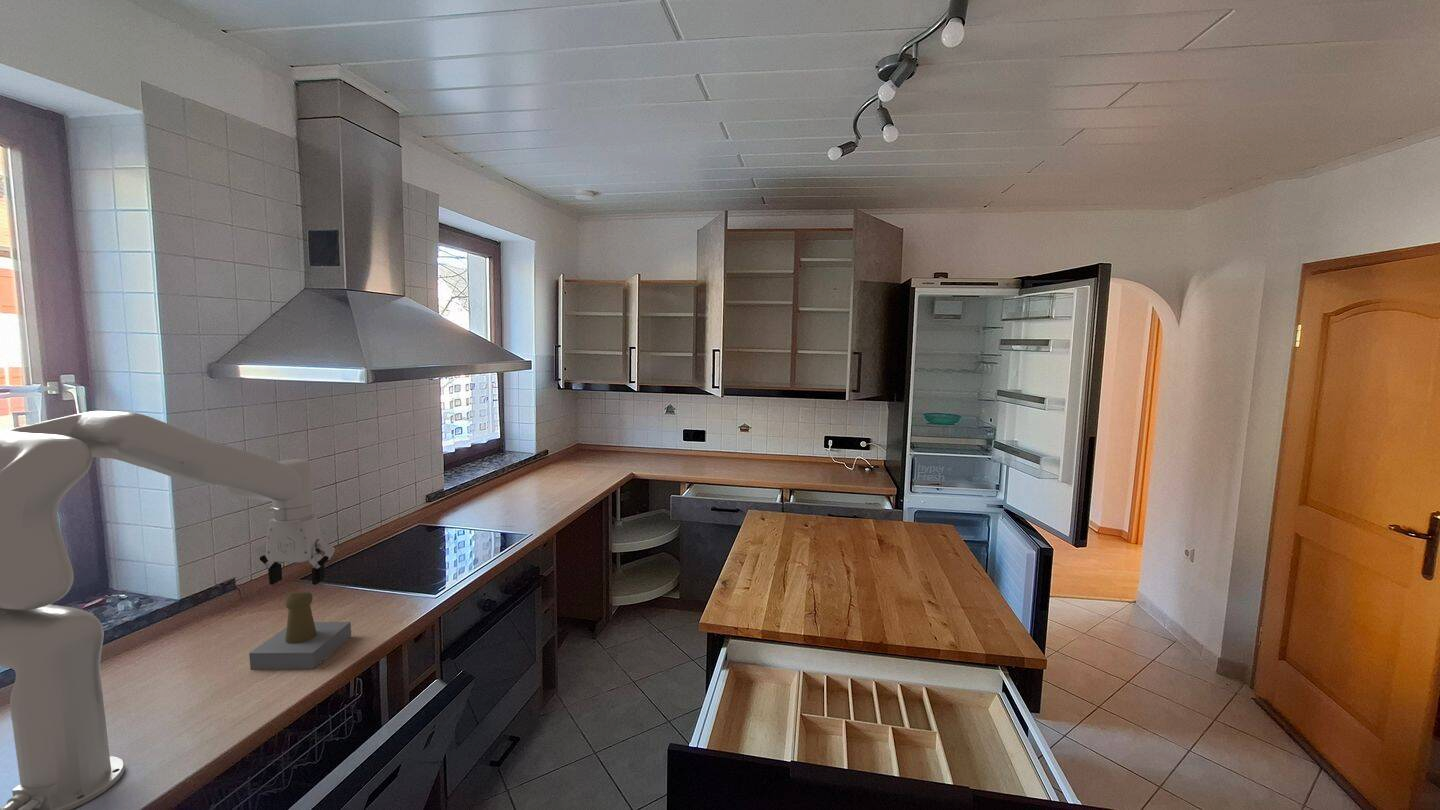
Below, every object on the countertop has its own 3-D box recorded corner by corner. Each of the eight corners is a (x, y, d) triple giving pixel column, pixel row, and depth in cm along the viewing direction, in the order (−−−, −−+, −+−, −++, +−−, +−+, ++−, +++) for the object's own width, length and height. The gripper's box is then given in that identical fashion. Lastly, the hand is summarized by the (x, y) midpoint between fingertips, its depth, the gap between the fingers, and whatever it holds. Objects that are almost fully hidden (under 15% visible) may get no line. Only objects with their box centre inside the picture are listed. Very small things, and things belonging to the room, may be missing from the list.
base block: (313, 669, 126) (312, 652, 126) (250, 669, 126) (249, 653, 125) (351, 636, 140) (350, 621, 140) (294, 636, 139) (293, 622, 139)
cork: (312, 627, 136) (310, 585, 135) (319, 636, 133) (317, 593, 131) (282, 637, 132) (279, 593, 131) (288, 646, 128) (286, 601, 127)
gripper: (242, 516, 125) (246, 589, 126) (321, 517, 126) (324, 589, 127) (267, 507, 132) (271, 576, 134) (342, 508, 133) (344, 576, 135)
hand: (297, 582), depth 130 cm, fingers open, 9 cm apart
